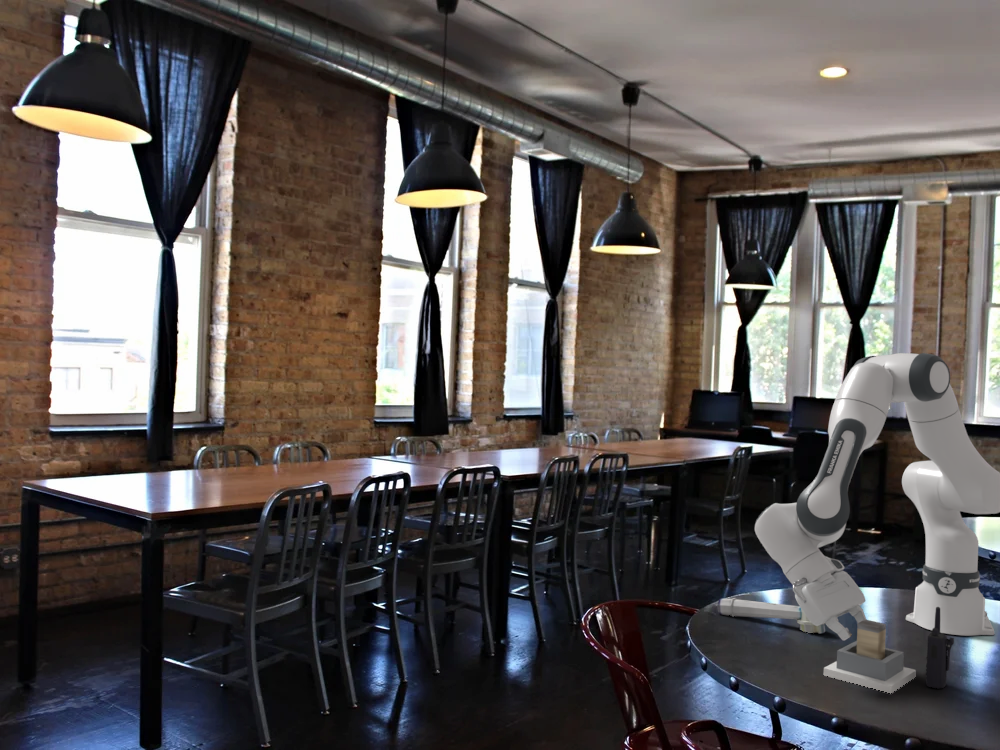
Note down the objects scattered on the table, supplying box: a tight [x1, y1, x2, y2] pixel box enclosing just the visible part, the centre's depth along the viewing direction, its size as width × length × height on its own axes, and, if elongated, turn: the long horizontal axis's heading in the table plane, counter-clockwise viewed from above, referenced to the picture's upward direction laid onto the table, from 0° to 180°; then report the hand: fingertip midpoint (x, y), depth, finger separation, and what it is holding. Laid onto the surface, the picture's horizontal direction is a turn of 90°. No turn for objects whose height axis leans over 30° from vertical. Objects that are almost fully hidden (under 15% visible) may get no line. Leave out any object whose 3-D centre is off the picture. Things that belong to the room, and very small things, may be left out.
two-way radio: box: [925, 607, 955, 690], centre depth 170 cm, size 6×4×15 cm
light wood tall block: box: [856, 619, 887, 660], centre depth 174 cm, size 4×4×9 cm
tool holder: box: [823, 640, 917, 695], centre depth 174 cm, size 13×13×5 cm
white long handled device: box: [717, 597, 826, 634], centre depth 209 cm, size 5×7×25 cm
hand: (857, 633), depth 176 cm, fingers open, 8 cm apart
